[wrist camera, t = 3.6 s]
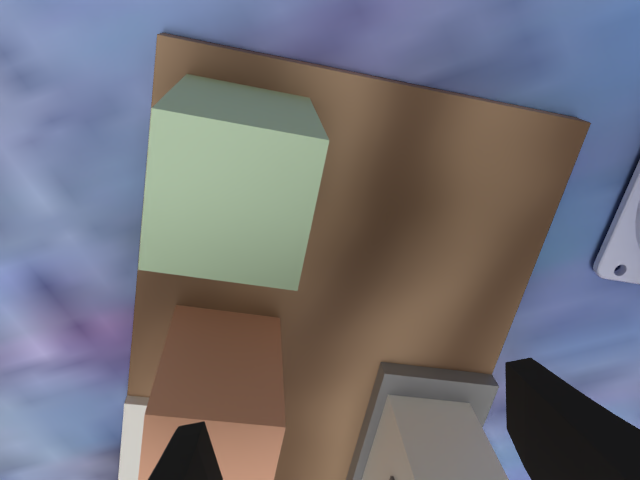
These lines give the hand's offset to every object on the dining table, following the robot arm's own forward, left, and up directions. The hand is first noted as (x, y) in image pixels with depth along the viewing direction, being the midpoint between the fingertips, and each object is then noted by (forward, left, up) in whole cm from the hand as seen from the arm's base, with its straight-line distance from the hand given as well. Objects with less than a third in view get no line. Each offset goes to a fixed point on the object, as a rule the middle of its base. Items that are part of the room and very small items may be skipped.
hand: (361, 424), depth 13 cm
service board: (-1, +4, -10) cm, 11 cm away
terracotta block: (+3, +4, -9) cm, 10 cm away
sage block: (+4, -4, -9) cm, 10 cm away
